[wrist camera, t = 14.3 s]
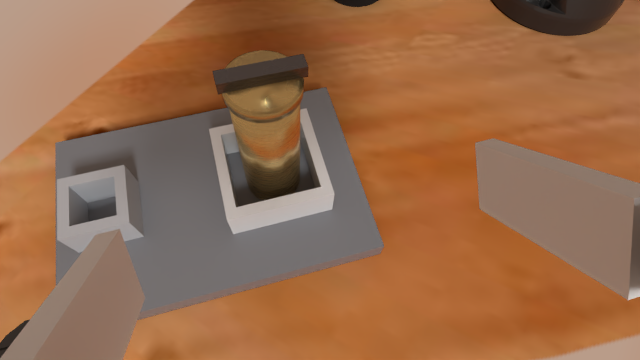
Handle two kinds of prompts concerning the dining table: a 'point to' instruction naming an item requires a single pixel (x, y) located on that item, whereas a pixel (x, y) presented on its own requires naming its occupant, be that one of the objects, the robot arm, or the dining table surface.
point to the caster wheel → (356, 2)
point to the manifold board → (211, 206)
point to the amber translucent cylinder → (266, 117)
